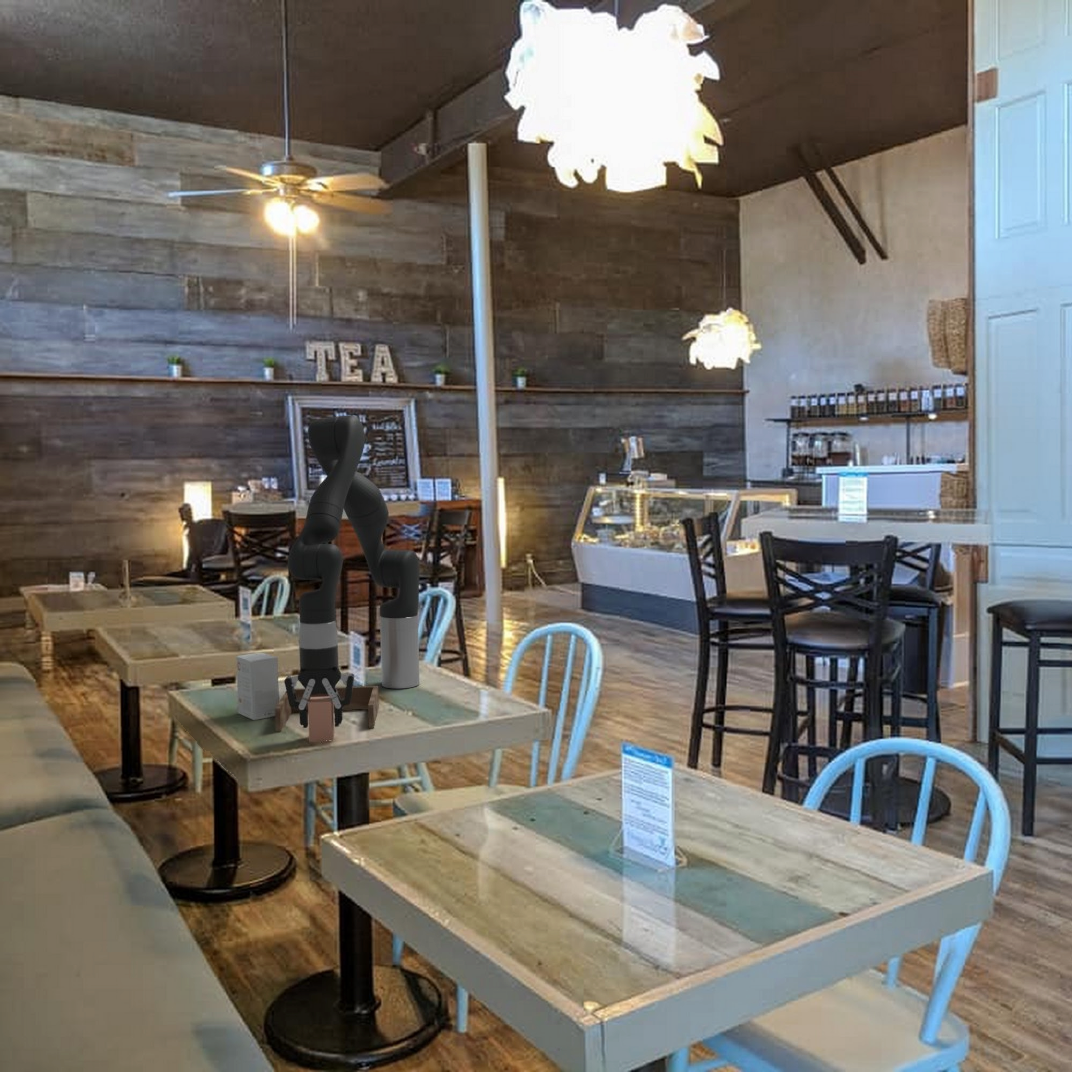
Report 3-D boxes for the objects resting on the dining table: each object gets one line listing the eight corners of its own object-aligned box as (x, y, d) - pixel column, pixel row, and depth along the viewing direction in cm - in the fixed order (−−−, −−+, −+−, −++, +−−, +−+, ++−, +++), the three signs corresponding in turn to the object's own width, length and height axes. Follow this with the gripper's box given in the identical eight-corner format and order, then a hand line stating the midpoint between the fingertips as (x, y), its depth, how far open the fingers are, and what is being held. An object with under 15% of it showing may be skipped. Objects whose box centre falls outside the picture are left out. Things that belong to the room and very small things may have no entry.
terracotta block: (312, 735, 210) (310, 697, 210) (334, 734, 211) (333, 696, 210) (309, 742, 206) (307, 702, 205) (332, 741, 206) (330, 701, 206)
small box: (280, 715, 227) (278, 657, 226) (253, 720, 223) (250, 661, 222) (264, 708, 233) (262, 651, 232) (237, 713, 229) (235, 655, 228)
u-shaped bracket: (288, 711, 230) (287, 689, 230) (378, 707, 232) (378, 685, 232) (275, 732, 213) (275, 708, 213) (373, 728, 215) (373, 704, 215)
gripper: (356, 639, 211) (359, 720, 213) (284, 641, 210) (287, 723, 211) (353, 646, 204) (355, 730, 205) (278, 648, 202) (282, 733, 204)
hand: (321, 726), depth 208 cm, fingers open, 5 cm apart
